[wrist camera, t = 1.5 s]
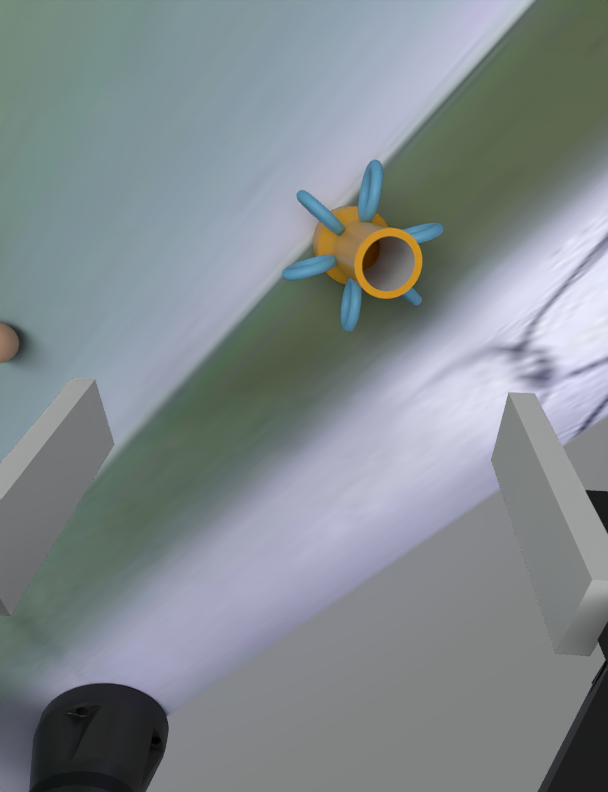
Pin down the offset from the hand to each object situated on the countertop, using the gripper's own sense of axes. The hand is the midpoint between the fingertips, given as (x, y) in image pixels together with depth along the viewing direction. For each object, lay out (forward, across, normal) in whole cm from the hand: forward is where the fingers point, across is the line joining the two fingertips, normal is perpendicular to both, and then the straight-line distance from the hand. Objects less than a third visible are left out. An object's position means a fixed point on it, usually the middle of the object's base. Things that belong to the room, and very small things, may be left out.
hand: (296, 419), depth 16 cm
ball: (+22, +28, +10) cm, 37 cm away
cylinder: (+30, -1, +4) cm, 31 cm away
